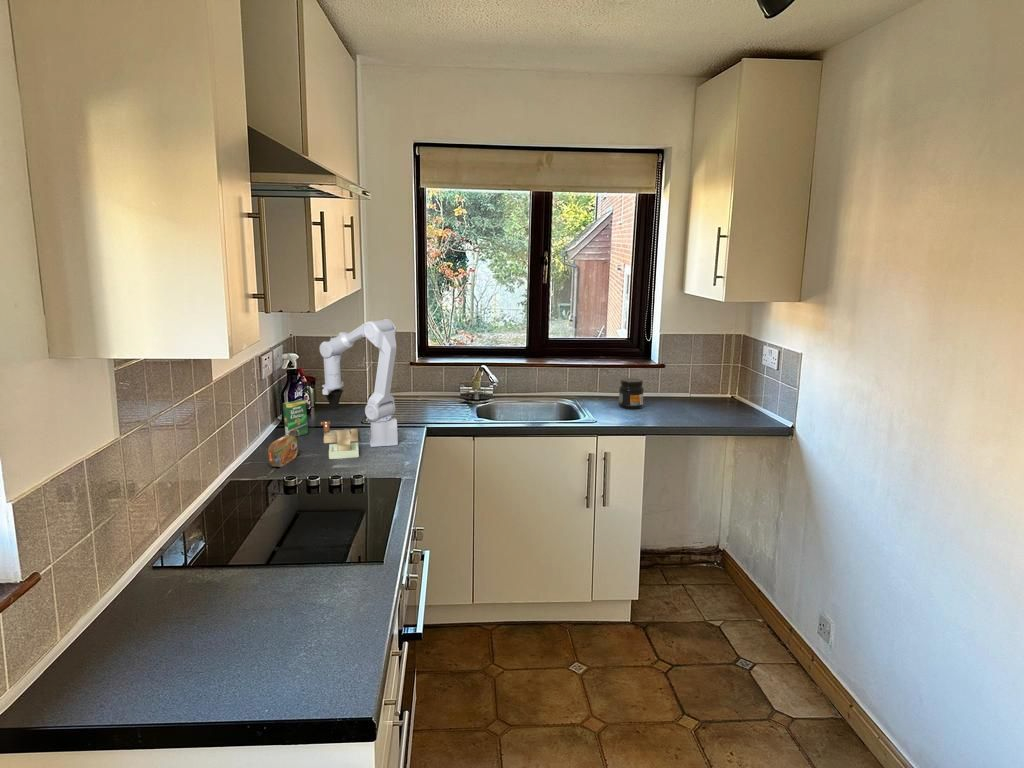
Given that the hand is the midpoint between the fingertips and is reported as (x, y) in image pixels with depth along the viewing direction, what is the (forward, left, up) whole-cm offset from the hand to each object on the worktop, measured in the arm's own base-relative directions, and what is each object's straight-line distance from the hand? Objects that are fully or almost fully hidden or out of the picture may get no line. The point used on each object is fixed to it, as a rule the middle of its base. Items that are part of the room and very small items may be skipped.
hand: (334, 409), depth 252 cm
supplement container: (-124, -14, -10) cm, 125 cm away
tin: (+16, +30, -10) cm, 35 cm away
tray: (-3, +25, -9) cm, 27 cm away
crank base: (-2, +6, -9) cm, 11 cm away
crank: (0, +6, -8) cm, 10 cm away
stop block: (-3, +25, -9) cm, 27 cm away
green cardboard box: (+14, -1, -10) cm, 17 cm away
